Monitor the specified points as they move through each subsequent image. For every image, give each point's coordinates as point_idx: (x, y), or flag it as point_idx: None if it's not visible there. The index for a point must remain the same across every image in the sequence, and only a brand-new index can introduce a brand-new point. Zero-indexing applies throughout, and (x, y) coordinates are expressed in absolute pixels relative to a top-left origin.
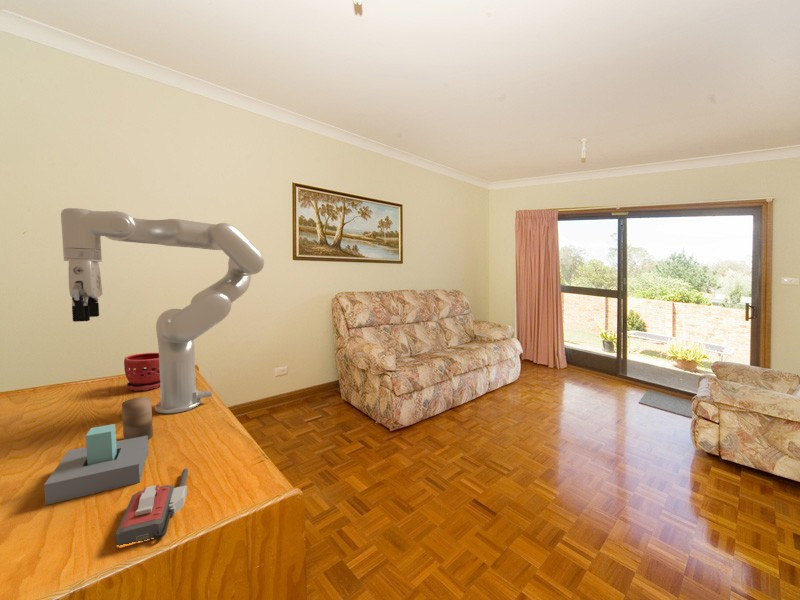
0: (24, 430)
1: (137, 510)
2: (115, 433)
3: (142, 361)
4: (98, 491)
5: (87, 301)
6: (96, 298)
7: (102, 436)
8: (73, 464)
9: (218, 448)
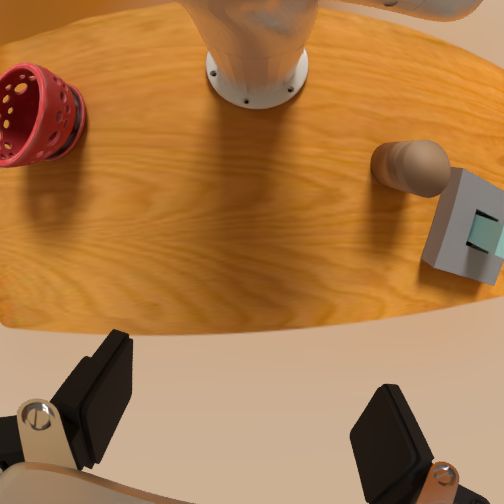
0: (197, 316)
1: None
2: (494, 221)
3: (43, 119)
4: None
5: (429, 492)
6: (63, 452)
7: None
8: (476, 262)
9: (491, 97)
